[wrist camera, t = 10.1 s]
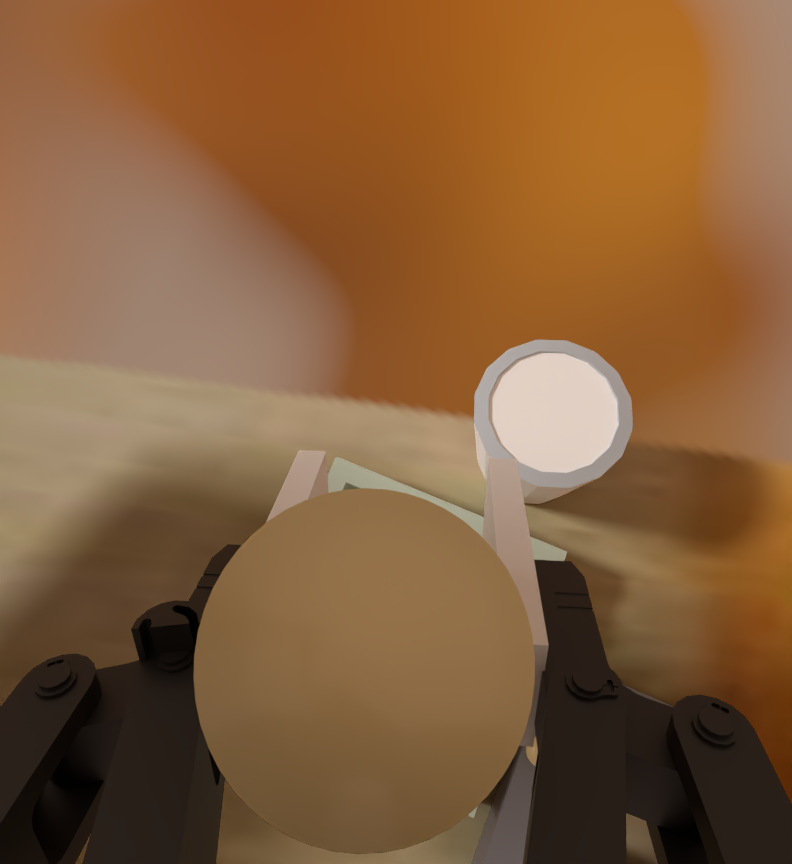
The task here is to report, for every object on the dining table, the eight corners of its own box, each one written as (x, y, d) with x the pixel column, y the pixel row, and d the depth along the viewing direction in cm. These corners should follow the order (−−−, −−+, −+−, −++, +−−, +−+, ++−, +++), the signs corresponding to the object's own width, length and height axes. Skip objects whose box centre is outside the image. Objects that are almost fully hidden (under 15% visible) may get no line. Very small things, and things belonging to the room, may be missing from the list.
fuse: (315, 676, 21) (132, 754, 8) (370, 546, 22) (283, 442, 9) (445, 737, 20) (459, 925, 7) (495, 599, 21) (581, 562, 9)
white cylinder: (603, 408, 34) (645, 355, 27) (582, 530, 32) (621, 505, 25) (480, 381, 35) (491, 323, 28) (452, 498, 33) (457, 466, 26)
